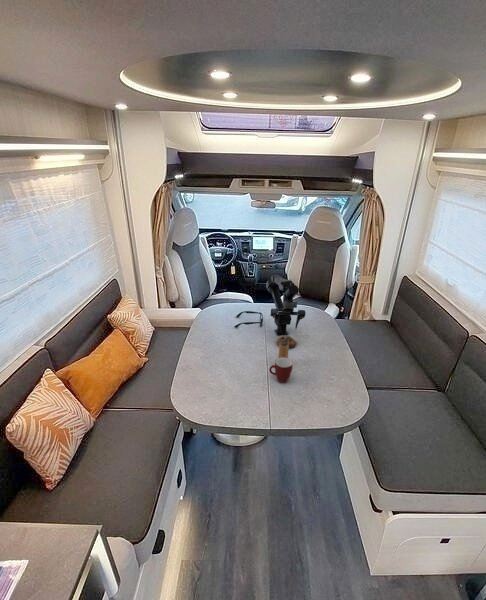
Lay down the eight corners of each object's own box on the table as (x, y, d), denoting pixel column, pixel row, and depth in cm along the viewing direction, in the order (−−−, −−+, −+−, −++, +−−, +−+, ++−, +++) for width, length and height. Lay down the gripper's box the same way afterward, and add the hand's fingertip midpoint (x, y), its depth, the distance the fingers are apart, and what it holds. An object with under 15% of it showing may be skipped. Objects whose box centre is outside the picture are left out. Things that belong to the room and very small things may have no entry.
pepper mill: (276, 363, 160) (277, 341, 155) (283, 360, 163) (285, 338, 158) (281, 368, 157) (283, 345, 152) (289, 365, 159) (291, 343, 154)
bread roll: (282, 350, 171) (282, 341, 170) (273, 342, 181) (273, 334, 180) (299, 347, 176) (300, 338, 174) (290, 340, 186) (290, 332, 184)
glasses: (262, 330, 194) (263, 323, 192) (234, 328, 193) (234, 321, 191) (262, 318, 209) (263, 311, 207) (236, 316, 209) (236, 309, 207)
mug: (268, 384, 145) (269, 366, 141) (269, 374, 152) (269, 356, 148) (291, 386, 144) (293, 368, 140) (290, 375, 151) (292, 357, 147)
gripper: (271, 294, 166) (270, 322, 160) (306, 296, 165) (306, 324, 159) (271, 302, 176) (269, 329, 170) (304, 304, 175) (304, 330, 169)
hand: (287, 328), depth 167 cm, fingers open, 9 cm apart
